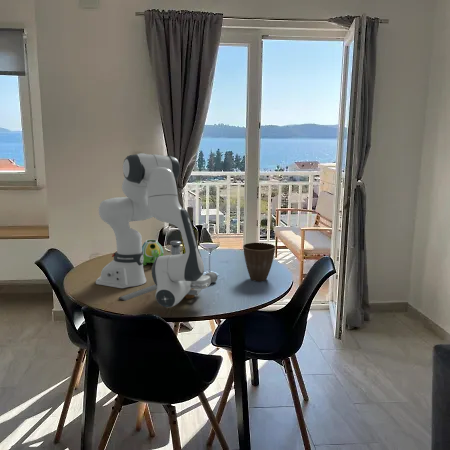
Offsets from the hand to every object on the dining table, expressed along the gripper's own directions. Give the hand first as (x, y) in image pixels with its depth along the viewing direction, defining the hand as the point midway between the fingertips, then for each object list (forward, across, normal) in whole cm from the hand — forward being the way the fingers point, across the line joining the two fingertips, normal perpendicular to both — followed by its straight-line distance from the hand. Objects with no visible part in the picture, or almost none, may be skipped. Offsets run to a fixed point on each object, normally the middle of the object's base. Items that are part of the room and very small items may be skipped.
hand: (190, 274), depth 181 cm
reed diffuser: (+14, 0, +10) cm, 17 cm away
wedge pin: (-1, 0, +10) cm, 10 cm away
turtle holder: (+43, +34, +10) cm, 56 cm away
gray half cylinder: (-2, +22, +10) cm, 24 cm away
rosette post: (+1, +3, +9) cm, 10 cm away
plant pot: (+30, -24, +10) cm, 40 cm away
